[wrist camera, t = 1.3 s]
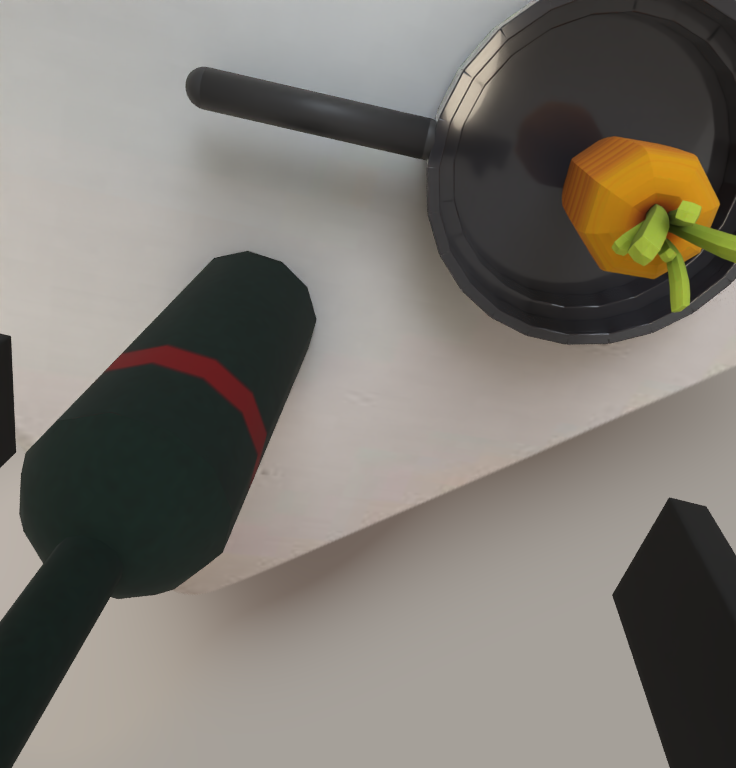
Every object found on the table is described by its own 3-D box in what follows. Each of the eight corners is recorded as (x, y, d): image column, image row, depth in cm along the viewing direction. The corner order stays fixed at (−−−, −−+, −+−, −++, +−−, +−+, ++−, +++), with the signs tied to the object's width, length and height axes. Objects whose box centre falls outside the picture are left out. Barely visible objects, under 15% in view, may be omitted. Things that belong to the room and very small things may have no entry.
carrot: (659, 151, 32) (822, 228, 19) (593, 234, 34) (696, 356, 21) (580, 94, 31) (692, 133, 18) (517, 184, 33) (575, 277, 20)
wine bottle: (131, 303, 38) (-518, 867, 12) (271, 227, 36) (-185, 756, 9) (204, 405, 41) (-187, 1035, 15) (340, 343, 39) (144, 991, 12)
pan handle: (194, 62, 30) (181, 63, 28) (449, 121, 30) (450, 125, 28) (191, 103, 30) (178, 106, 29) (439, 160, 31) (440, 166, 29)
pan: (476, -57, 29) (483, -72, 25) (822, 25, 29) (879, 22, 25) (397, 279, 36) (393, 306, 33) (670, 341, 37) (697, 374, 33)
